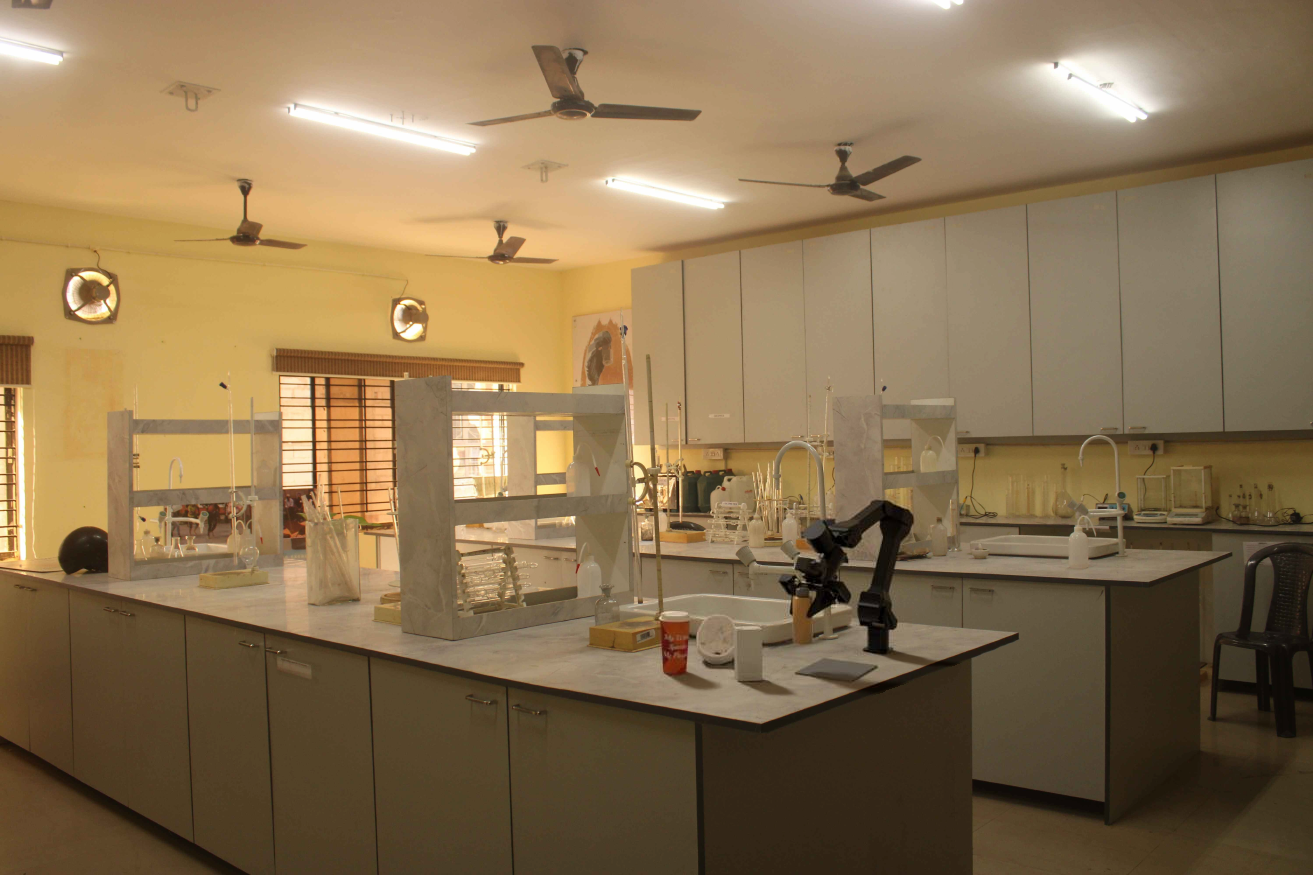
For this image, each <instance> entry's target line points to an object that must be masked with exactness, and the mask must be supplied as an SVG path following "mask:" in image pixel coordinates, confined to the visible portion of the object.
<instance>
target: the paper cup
mask: <svg viewBox="0 0 1313 875" xmlns="http://www.w3.org/2000/svg"><path fill="white" fill-rule="evenodd" d="M658 620H659V621H660V641H661V642H660V643H661V644H660V645H661V646H660V647H661V656H662V657H661V661H662V671H663V673H664V674H666V675H676V676H677V675H683V674H686V673H687V669H688V668H687V666H688V653H689V651H688V650H689V639H690V638H689V636H690V635H689V634H690V621H692V618H691V615H690V614H689V612H687V611H679V610H677V611H676V610H675V611H674V610H670V611H662V612H661V613H660V616H659V617H658Z"/></svg>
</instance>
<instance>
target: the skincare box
mask: <svg viewBox="0 0 1313 875" xmlns="http://www.w3.org/2000/svg"><path fill="white" fill-rule="evenodd" d="M733 659H734V660H733V661H734V678H735V680H736V681H737V682H750V681H751V682H756V681H757V682H758V681H759V682H761V681H763V629H762V628H761V627H760V626H757V625H756V626H755V625H754V626H752V625H751V626H749V625H748V626H746V625H745V626H735V627H734V658H733Z"/></svg>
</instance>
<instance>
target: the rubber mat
mask: <svg viewBox="0 0 1313 875" xmlns="http://www.w3.org/2000/svg"><path fill="white" fill-rule="evenodd" d="M877 667H878V665H877V664H873V663H872V664H871V663H864V662H863V663H862V662H856V661H851V660H850V661H849V660H841V659H835V658H827V657H823V658H821V659H819V660H817V661H815V662H812V663H811V664H809V665H807V666H805V667H802V668H801V669H799V670H797V671H795V672H794V674H795V675H800V676H806V677H808V676H809V677H815V678H821V679H827V680H828V679H829V680H833V681H835V680H836V681H841V682H849V683H852V682H853V680H854V681H855V680H857V679H859V678H861V677H862V676H864V675H865V674H866V675H867V673H869V672H870V671H872V669H873V670H874V669H877ZM860 676H861V677H860Z"/></svg>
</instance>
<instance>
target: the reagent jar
mask: <svg viewBox="0 0 1313 875" xmlns="http://www.w3.org/2000/svg"><path fill="white" fill-rule="evenodd" d="M813 601H814V598H813V596H811V595H810V591H809V588H796V596H793V615H792V643H793V644H795V645H796V644H797V645H810V644H811V645H812V644H813V643H814V639H813V637H814V630H813V629H814V626H813V625H814V624H813V623H814V621H813V620H814V616H812V617H811V618H808V617H807V613H808V610H809V608H810V606H811V604H812V602H813Z"/></svg>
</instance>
